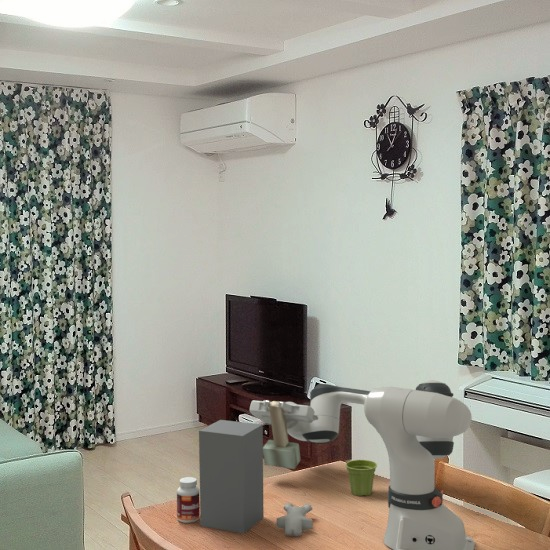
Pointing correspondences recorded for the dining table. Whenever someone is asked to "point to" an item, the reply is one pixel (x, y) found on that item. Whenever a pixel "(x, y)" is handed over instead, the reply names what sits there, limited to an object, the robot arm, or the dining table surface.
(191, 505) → the pill bottle
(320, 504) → the dining table surface
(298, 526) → the grey soft figure
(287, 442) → the mallet
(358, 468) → the plant pot
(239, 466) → the stand
